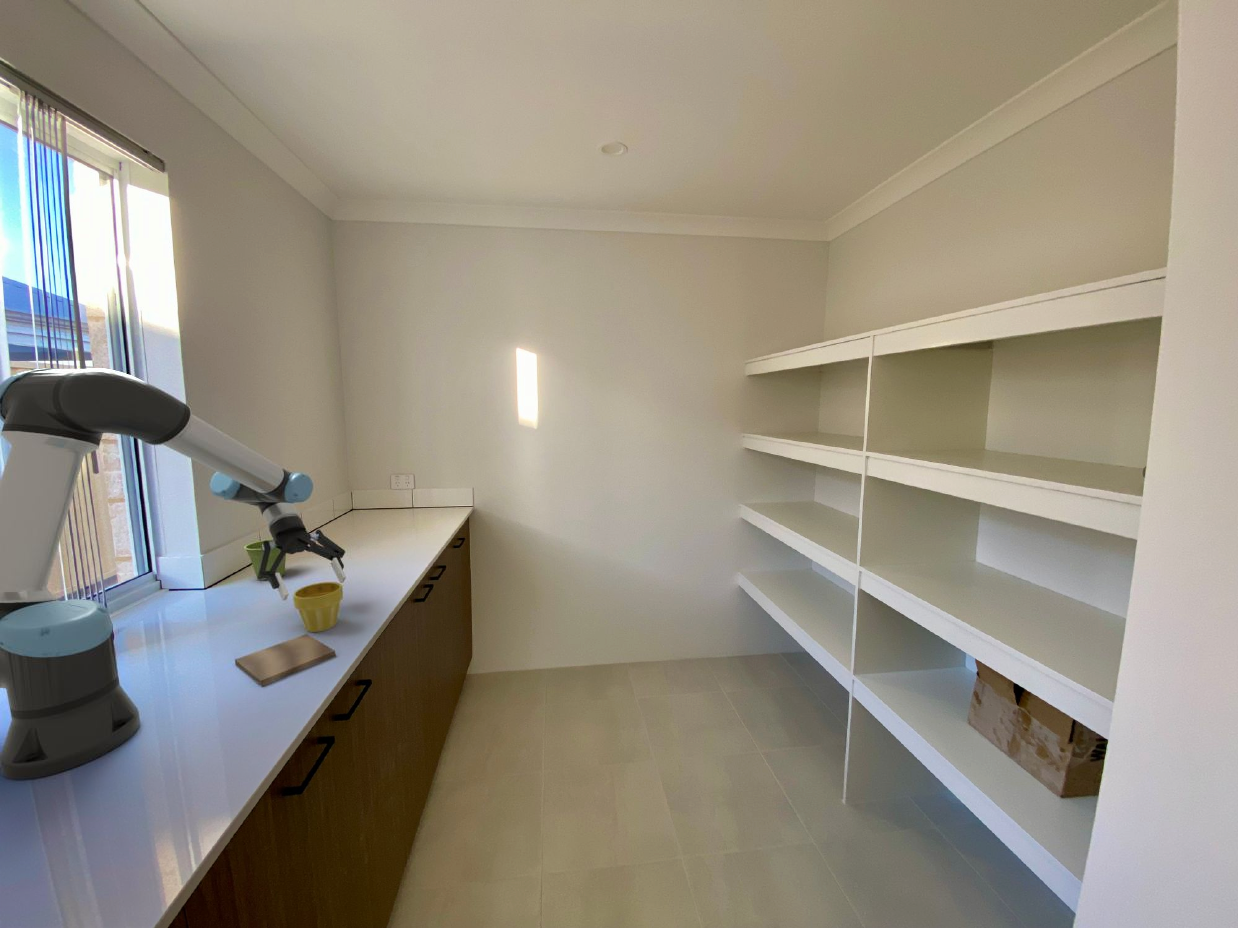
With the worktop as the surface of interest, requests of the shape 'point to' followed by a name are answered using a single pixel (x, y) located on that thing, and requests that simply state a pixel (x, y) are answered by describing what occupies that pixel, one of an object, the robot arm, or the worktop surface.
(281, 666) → the walnut board
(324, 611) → the plant pot
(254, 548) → the plant pot
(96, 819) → the worktop surface
